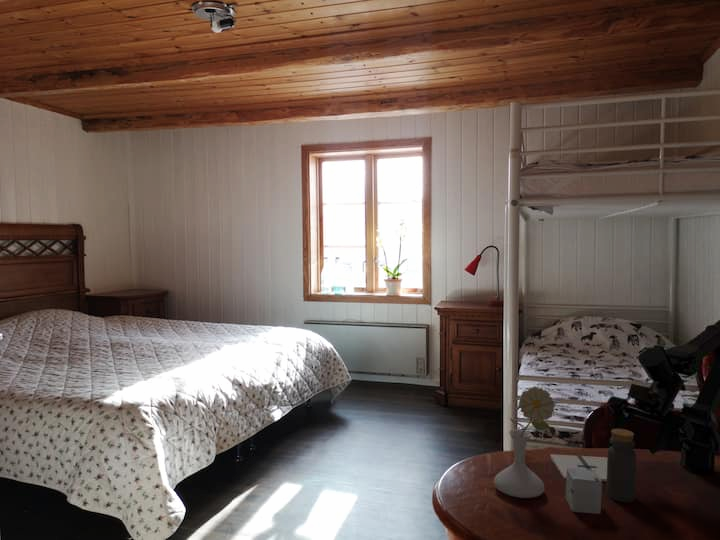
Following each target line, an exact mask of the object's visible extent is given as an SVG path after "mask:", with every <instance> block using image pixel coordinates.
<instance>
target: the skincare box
mask: <svg viewBox="0 0 720 540" xmlns="http://www.w3.org/2000/svg"><path fill="white" fill-rule="evenodd" d="M565 480H566V481H565V482H566V483H565V500H566V502H567V504H568V505H569V508H570V510H571V512H573V513H574V512H575V513H583V514H584V513H585V514H586V513H587V514H596V515H601V513H602V512H601V511H602V510H601V509H602V508H601V507H602V490H603V489H602V488H603V481H601V479H600V478H599V476H598V475H597V473H596V472H595V471H594V470H589V469H577V468H567V477H566V479H565Z"/></svg>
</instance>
